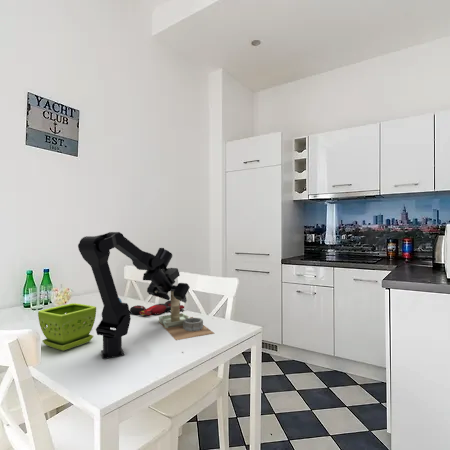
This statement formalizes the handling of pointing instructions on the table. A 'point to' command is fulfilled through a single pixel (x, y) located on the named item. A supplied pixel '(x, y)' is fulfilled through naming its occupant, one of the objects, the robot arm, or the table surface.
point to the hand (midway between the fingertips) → (177, 300)
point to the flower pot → (67, 325)
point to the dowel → (175, 308)
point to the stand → (184, 327)
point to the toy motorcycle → (152, 309)
